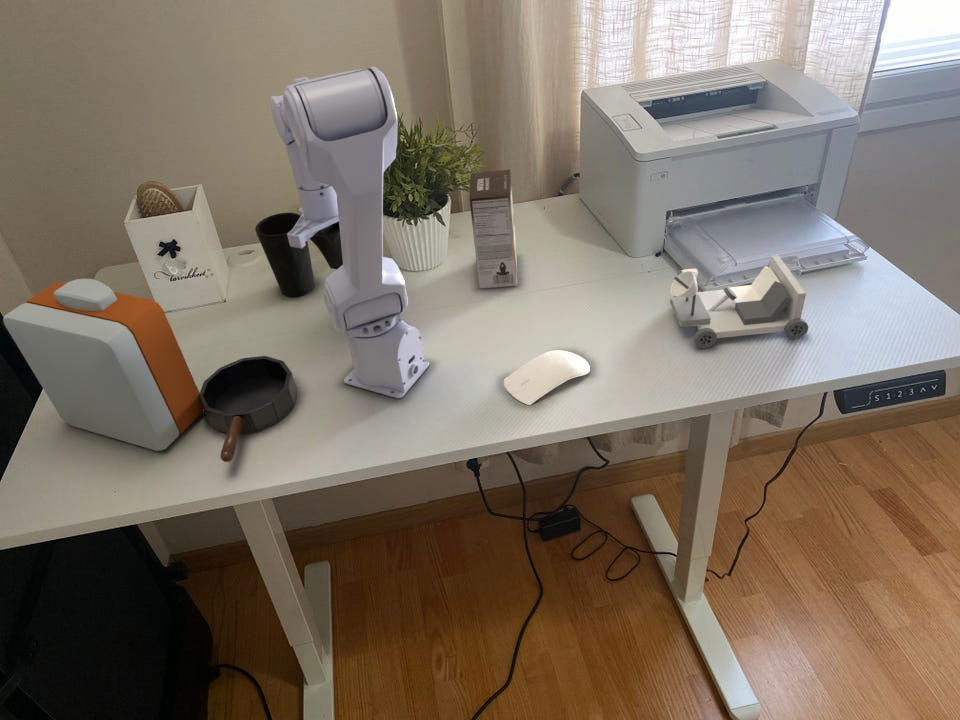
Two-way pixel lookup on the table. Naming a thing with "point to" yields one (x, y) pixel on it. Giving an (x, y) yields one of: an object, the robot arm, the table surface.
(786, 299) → the toy cart
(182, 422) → the alarm clock
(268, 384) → the pan
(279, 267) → the cup
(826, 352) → the table surface
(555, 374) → the computer mouse
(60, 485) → the table surface
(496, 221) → the coffee box
